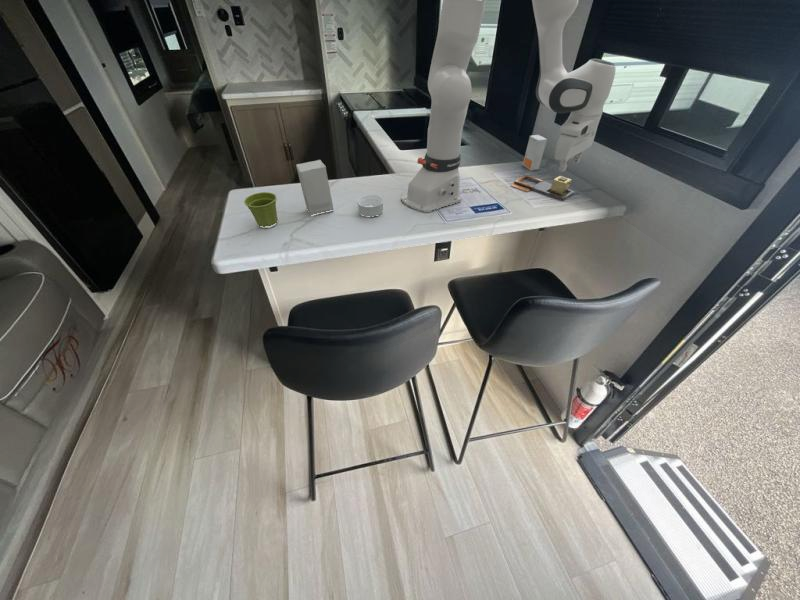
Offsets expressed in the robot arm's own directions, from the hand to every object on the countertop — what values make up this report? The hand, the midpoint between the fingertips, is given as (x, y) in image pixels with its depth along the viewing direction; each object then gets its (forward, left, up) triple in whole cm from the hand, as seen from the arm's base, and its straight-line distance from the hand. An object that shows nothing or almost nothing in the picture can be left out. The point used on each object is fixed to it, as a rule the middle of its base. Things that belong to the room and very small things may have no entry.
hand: (568, 166), depth 111 cm
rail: (-2, +6, -10) cm, 12 cm away
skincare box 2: (+15, +20, -10) cm, 27 cm away
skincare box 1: (-70, +50, -10) cm, 87 cm away
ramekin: (-58, +37, -10) cm, 70 cm away
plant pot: (-87, +54, -10) cm, 103 cm away
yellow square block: (0, 0, -10) cm, 10 cm away
